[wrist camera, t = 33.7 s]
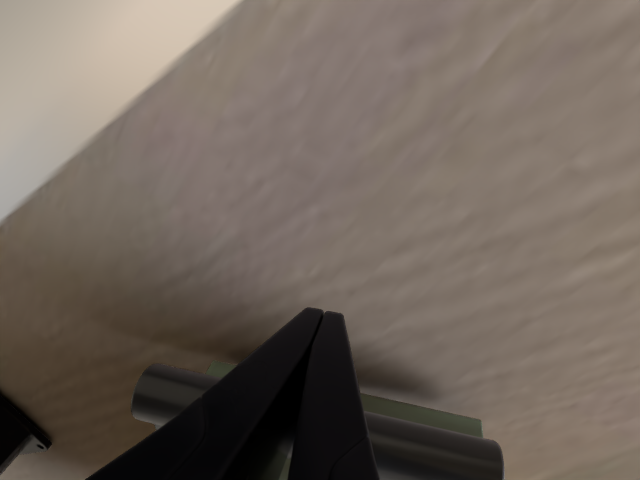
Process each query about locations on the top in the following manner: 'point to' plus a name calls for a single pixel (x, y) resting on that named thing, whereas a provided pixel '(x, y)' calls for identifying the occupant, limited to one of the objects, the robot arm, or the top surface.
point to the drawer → (382, 421)
